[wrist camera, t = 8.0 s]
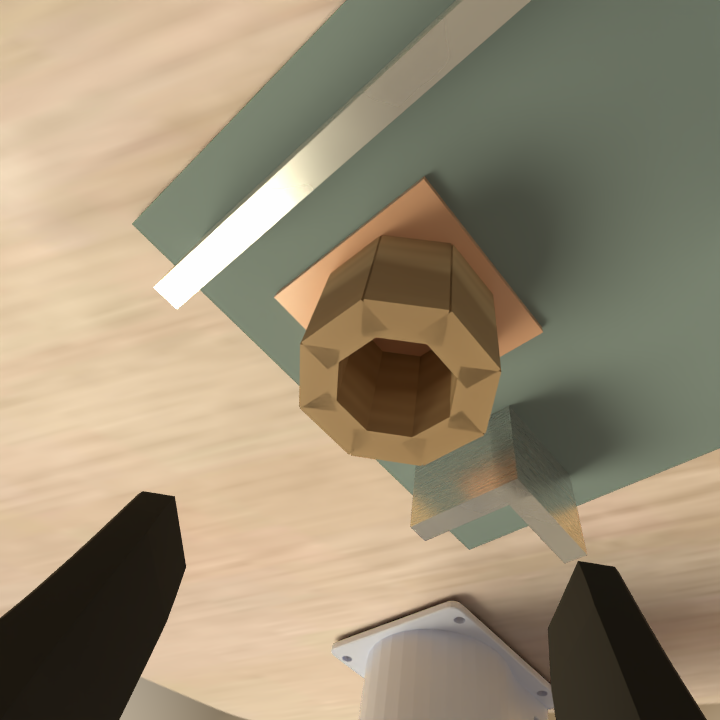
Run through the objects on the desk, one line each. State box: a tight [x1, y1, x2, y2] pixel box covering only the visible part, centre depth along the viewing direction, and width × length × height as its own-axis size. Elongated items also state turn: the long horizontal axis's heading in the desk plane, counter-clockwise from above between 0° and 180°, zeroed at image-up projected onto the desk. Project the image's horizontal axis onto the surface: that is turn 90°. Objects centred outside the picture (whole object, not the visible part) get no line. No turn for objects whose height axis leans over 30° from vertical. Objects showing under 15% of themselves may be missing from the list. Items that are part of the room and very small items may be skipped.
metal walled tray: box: [154, 0, 587, 563], centre depth 16 cm, size 15×15×4 cm
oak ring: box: [299, 235, 501, 466], centre depth 16 cm, size 5×5×4 cm
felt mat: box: [132, 0, 720, 550], centre depth 17 cm, size 18×18×1 cm
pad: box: [274, 176, 543, 357], centre depth 18 cm, size 6×6×1 cm
